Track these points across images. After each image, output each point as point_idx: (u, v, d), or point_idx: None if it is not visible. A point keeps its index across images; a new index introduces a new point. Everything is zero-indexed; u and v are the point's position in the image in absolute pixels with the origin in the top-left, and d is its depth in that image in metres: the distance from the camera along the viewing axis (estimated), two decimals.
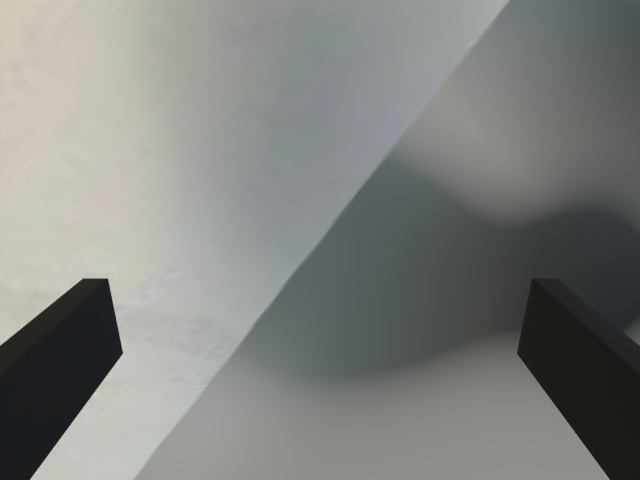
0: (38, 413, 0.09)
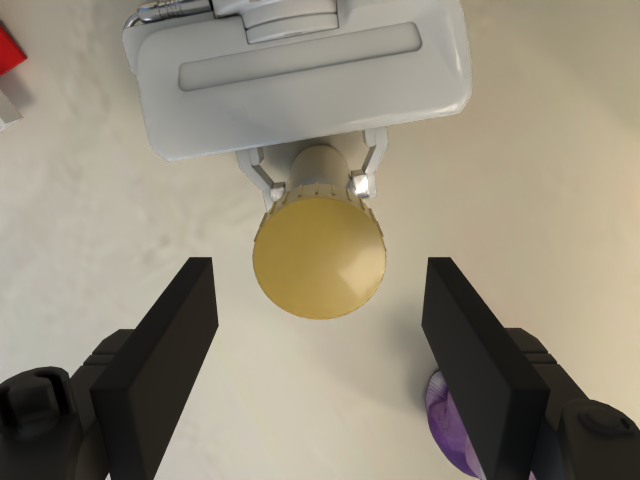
0: (181, 367, 0.11)
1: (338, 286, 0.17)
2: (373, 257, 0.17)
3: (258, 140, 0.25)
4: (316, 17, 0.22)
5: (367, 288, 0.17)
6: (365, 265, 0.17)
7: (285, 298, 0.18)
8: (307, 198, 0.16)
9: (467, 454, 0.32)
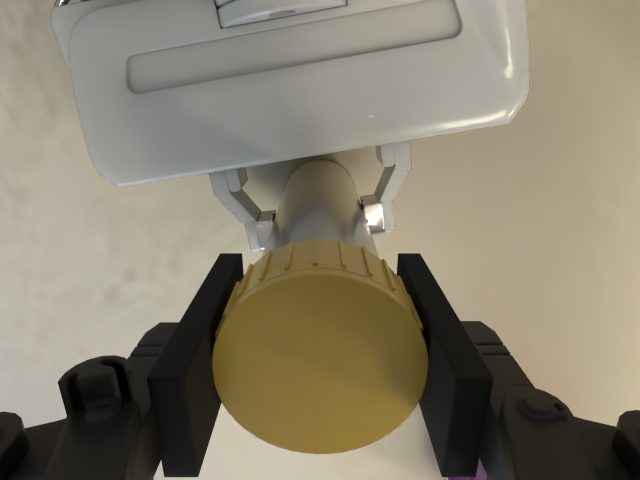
0: None
1: (350, 408, 0.11)
2: (408, 366, 0.10)
3: (237, 159, 0.19)
4: None
5: (397, 411, 0.11)
6: (395, 378, 0.10)
7: (266, 425, 0.11)
8: (300, 276, 0.09)
9: None
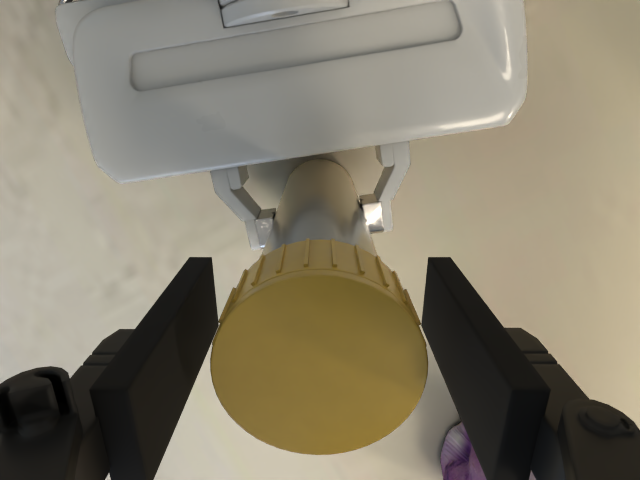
0: (181, 367, 0.11)
1: (364, 346, 0.10)
2: (309, 296, 0.10)
3: (238, 157, 0.19)
4: None
5: (369, 302, 0.10)
6: (324, 307, 0.10)
7: (383, 418, 0.11)
8: (215, 388, 0.11)
9: None
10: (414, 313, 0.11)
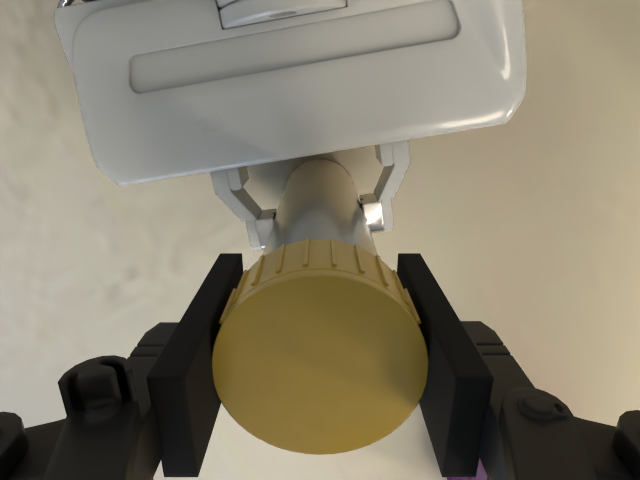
0: None
1: (364, 345, 0.10)
2: (308, 296, 0.10)
3: (238, 158, 0.19)
4: None
5: (369, 301, 0.10)
6: (324, 307, 0.10)
7: (384, 417, 0.11)
8: (216, 389, 0.11)
9: None
10: (414, 312, 0.11)
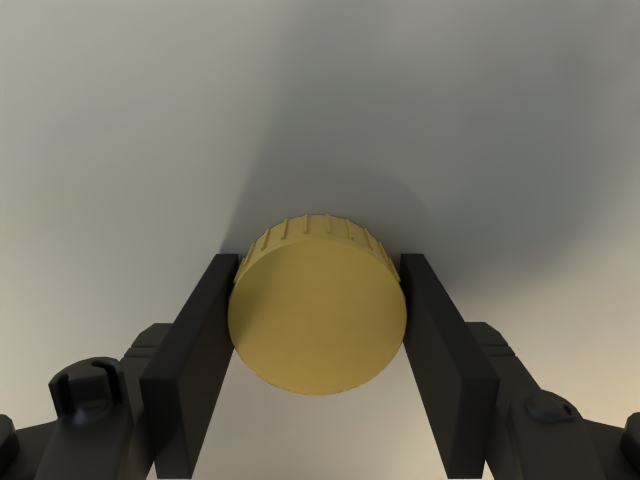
0: (214, 360, 0.11)
1: (354, 299, 0.12)
2: (308, 257, 0.12)
3: None
4: None
5: (357, 261, 0.12)
6: (321, 266, 0.12)
7: (371, 361, 0.13)
8: (231, 337, 0.13)
9: None
10: (395, 273, 0.13)
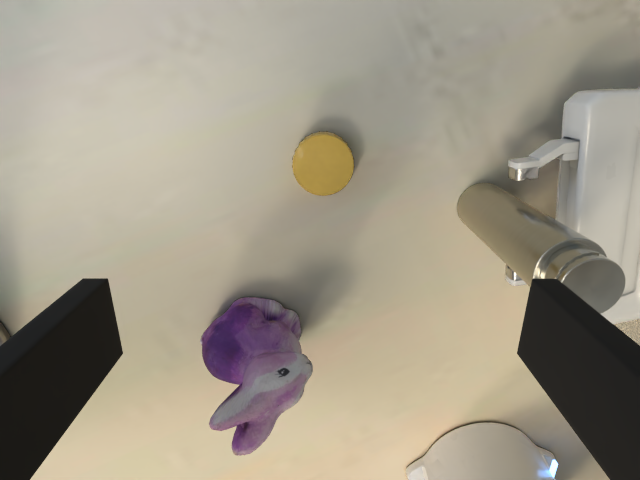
0: (38, 413, 0.09)
1: (335, 156, 0.37)
2: (320, 140, 0.36)
3: (586, 185, 0.32)
4: None
5: (336, 142, 0.36)
6: (324, 144, 0.36)
7: (342, 181, 0.37)
8: (293, 171, 0.37)
9: (269, 358, 0.35)
10: (350, 150, 0.37)
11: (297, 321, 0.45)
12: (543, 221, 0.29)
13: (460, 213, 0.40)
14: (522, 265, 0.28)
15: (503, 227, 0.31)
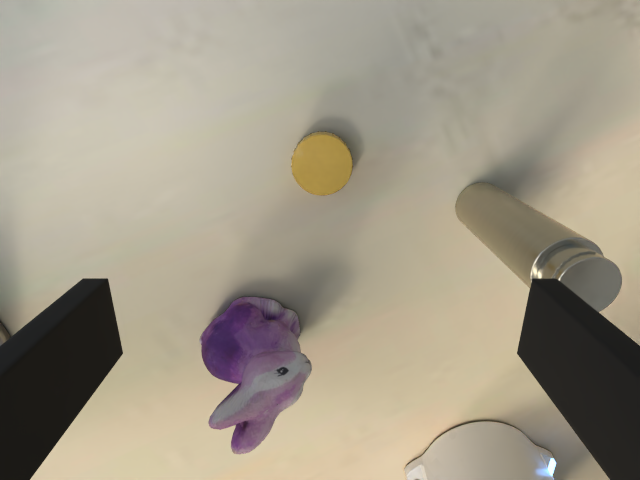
0: (38, 413, 0.09)
1: (334, 156, 0.37)
2: (319, 140, 0.36)
3: None
4: None
5: (335, 142, 0.36)
6: (323, 144, 0.36)
7: (340, 181, 0.38)
8: (292, 171, 0.37)
9: (268, 357, 0.35)
10: (349, 150, 0.38)
11: (296, 320, 0.45)
12: (541, 220, 0.29)
13: (458, 213, 0.40)
14: (519, 264, 0.28)
15: (501, 226, 0.31)
